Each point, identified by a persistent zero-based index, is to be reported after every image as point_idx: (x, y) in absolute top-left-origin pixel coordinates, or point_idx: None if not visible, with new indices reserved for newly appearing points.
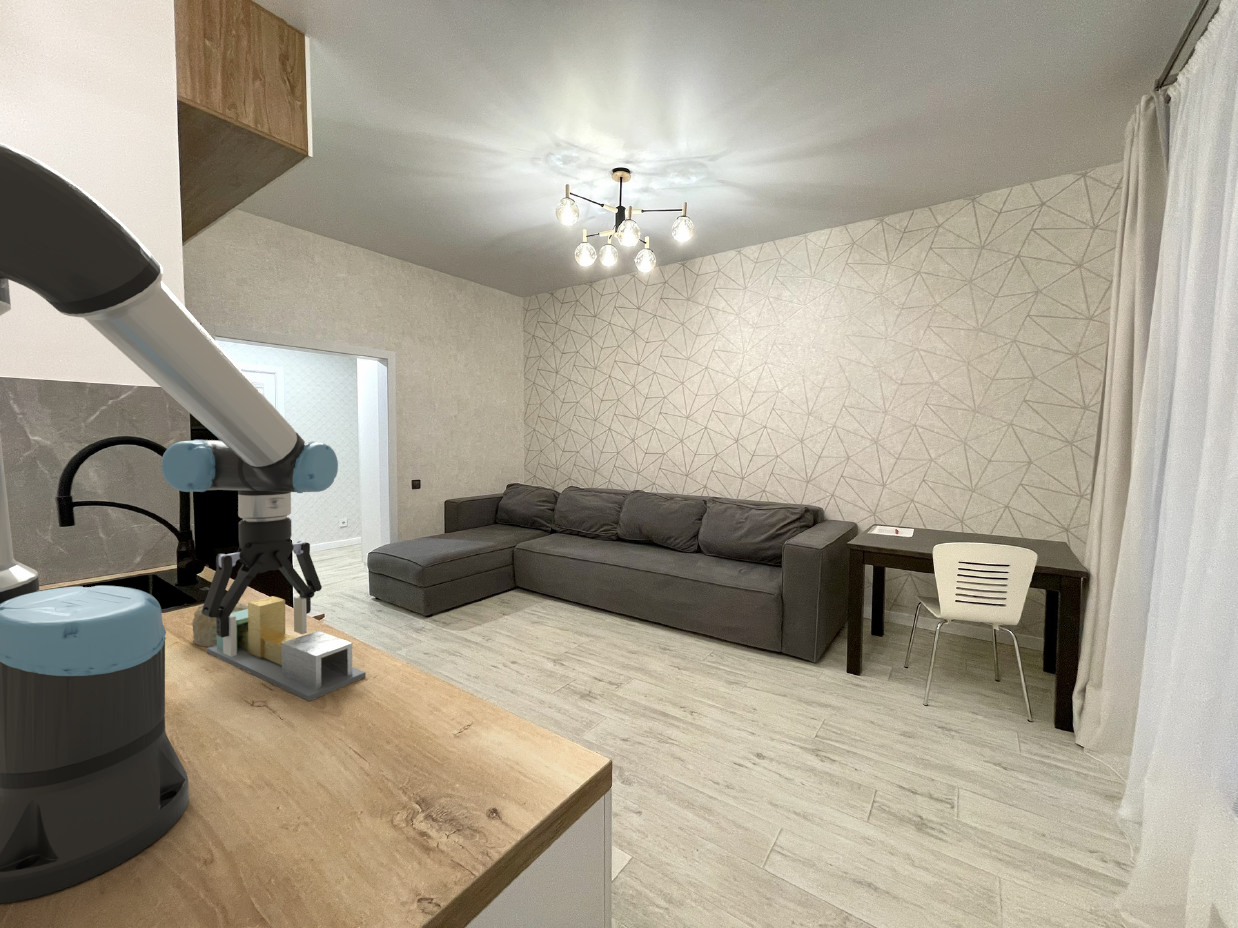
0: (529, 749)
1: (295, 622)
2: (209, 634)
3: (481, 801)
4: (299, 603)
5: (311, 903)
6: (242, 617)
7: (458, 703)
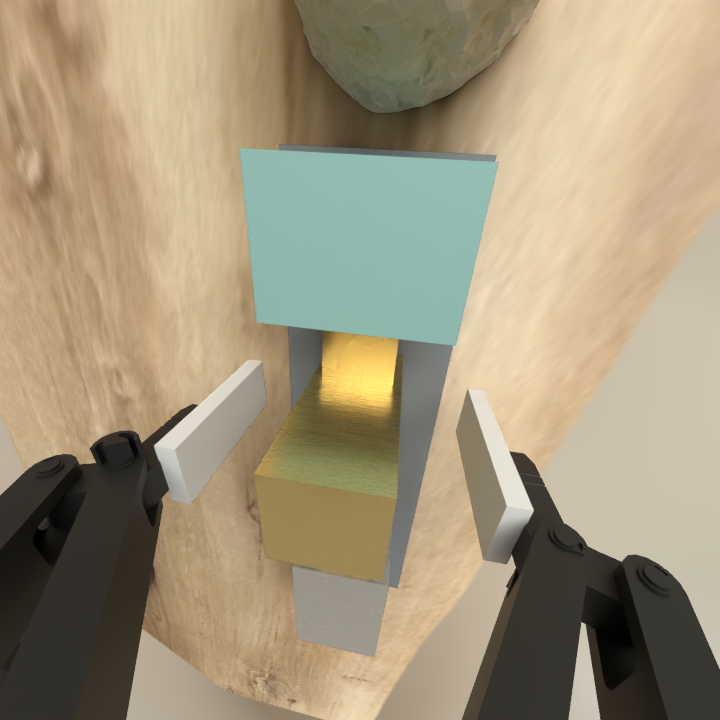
0: (360, 708)
1: (471, 419)
2: (304, 25)
3: (295, 696)
4: (484, 518)
5: (192, 661)
6: (318, 308)
7: (395, 668)
